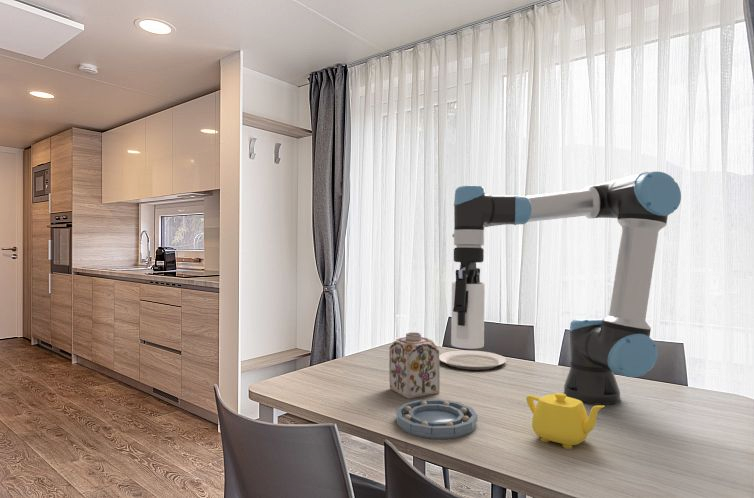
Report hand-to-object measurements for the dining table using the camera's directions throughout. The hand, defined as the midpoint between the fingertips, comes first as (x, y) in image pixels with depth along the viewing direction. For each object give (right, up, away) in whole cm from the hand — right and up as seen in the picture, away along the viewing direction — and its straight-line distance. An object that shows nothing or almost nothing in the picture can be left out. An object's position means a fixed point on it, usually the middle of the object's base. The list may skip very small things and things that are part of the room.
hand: (467, 335), depth 118 cm
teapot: (+20, -22, -12) cm, 32 cm away
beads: (-8, -21, -1) cm, 22 cm away
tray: (-8, -22, -1) cm, 24 cm away
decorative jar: (-12, -22, +25) cm, 35 cm away
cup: (0, -3, 0) cm, 3 cm away
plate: (+13, -22, +59) cm, 65 cm away
